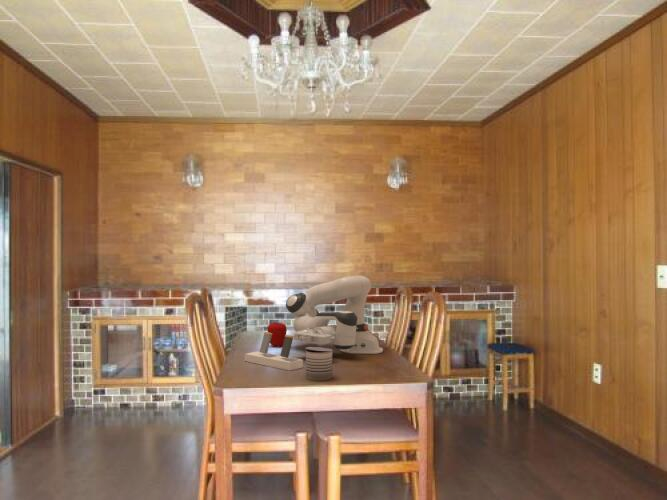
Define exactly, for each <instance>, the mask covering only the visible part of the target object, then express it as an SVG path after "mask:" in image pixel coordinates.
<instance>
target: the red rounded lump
mask: <svg viewBox="0 0 667 500" xmlns="http://www.w3.org/2000/svg"><path fill="white" fill-rule="evenodd" d="M287 329H288V327H287V326H286V324H285V323H282V322H278V321H276V322H271V323H269V325H267V331H266V332H270V333H272V336H271V340H270V344H269V345H271V346H272V347H283V343H284V339H285V335H287V331H288V330H287Z"/></svg>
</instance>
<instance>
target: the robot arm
mask: <svg viewBox="0 0 667 500" xmlns="http://www.w3.org/2000/svg"><path fill="white" fill-rule="evenodd" d="M371 289H372V282H371V279H369V278H368V277H366V276H364V275H349V276H343V277H340V278H337V279H334V280H332V281H327V282H324V283H319V284H317V285H314V286H312V287H310V288H308V289H306V292H305V293H303V292H299V293H294V294H292V295H290V296H288V298H287V300H286V302H285V307H286V309H287V310H288V312H289V313H291V315H292V316H294V317H295V319H294V321H293V325H292V327H293V329H294V331H295V332H294V335H293V336H294V337H293V339H294V340H295V341H299V342H304V343H305V342H307V343H313V344H316V345H317V346H318V347H320V346H325V345H329V344H332V345H333V346H334V347H335V348H336V349H338V350H340V351H341V352H344V353H346V354H367V355H368V354H371V355H372V354H373V355H374V354H376V355H377V354H380V353H381V354H382V353H383V351H384V348H383V347H381V346H379V345H380V344H379V340H378V338H377V336H375V335H374V334H372V333H371V332H370V331H369V325H368V324H367V323H365V307H366V301H367V297H368V294H369V293H370V292H371ZM341 300H346V303H345V305H344V306H343V309H342V311H336V312H335V311H329V312H319V310H318V309H317V308H315V307H317V306H320V305H325V304H330V303H334V302H338V301H341ZM330 321H335V322H336V324H330V325H329V323H330Z"/></svg>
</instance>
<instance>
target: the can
mask: <svg viewBox="0 0 667 500" xmlns="http://www.w3.org/2000/svg"><path fill="white" fill-rule="evenodd" d="M305 378H306V379H309V380H314V381H322V380H329V379H333V349H332V348H328V347H320V346H318V347H317V346H315V347H313V346H308V347H305Z"/></svg>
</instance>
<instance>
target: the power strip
mask: <svg viewBox="0 0 667 500" xmlns="http://www.w3.org/2000/svg"><path fill="white" fill-rule="evenodd" d="M280 355H281V354H280ZM280 355H279V354H273V353H268V352H267V354H265V353H260V352H259V351H258V350H257V351H252V352H248V353H244V361H245V362H246V361H247V363H252V364H257V365H262V366H266V367H271V368H275V369H279V370H280V369H281V370H285V371H290V372H291V371H294V370H298V369H299V370H300V369H301V368H303V366H304V365H303V363H304V360H303V359H302V358H295V357H290V356H289V357H288V358H286V357H282V356H280Z"/></svg>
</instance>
